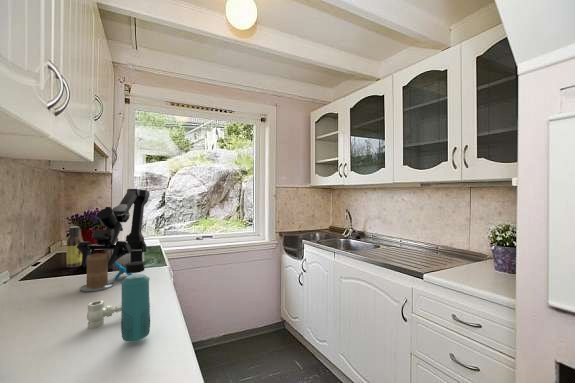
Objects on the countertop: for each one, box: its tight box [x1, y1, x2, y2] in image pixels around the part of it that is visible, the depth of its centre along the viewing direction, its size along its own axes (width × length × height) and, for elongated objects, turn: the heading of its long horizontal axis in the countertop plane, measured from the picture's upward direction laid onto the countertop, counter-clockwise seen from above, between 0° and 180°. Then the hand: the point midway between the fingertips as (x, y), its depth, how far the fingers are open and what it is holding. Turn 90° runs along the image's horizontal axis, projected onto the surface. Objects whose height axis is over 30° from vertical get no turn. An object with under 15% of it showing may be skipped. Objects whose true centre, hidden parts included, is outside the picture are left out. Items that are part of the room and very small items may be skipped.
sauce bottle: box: [65, 226, 83, 269], centre depth 140 cm, size 6×6×20 cm
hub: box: [79, 280, 115, 293], centre depth 110 cm, size 11×11×4 cm
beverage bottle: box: [120, 261, 151, 342], centre depth 71 cm, size 6×7×20 cm
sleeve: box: [86, 252, 109, 289], centre depth 110 cm, size 6×6×12 cm
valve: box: [86, 300, 122, 330], centre depth 81 cm, size 7×7×12 cm
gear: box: [112, 261, 134, 281], centre depth 121 cm, size 11×6×10 cm
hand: (96, 266), depth 109 cm, fingers open, 9 cm apart
